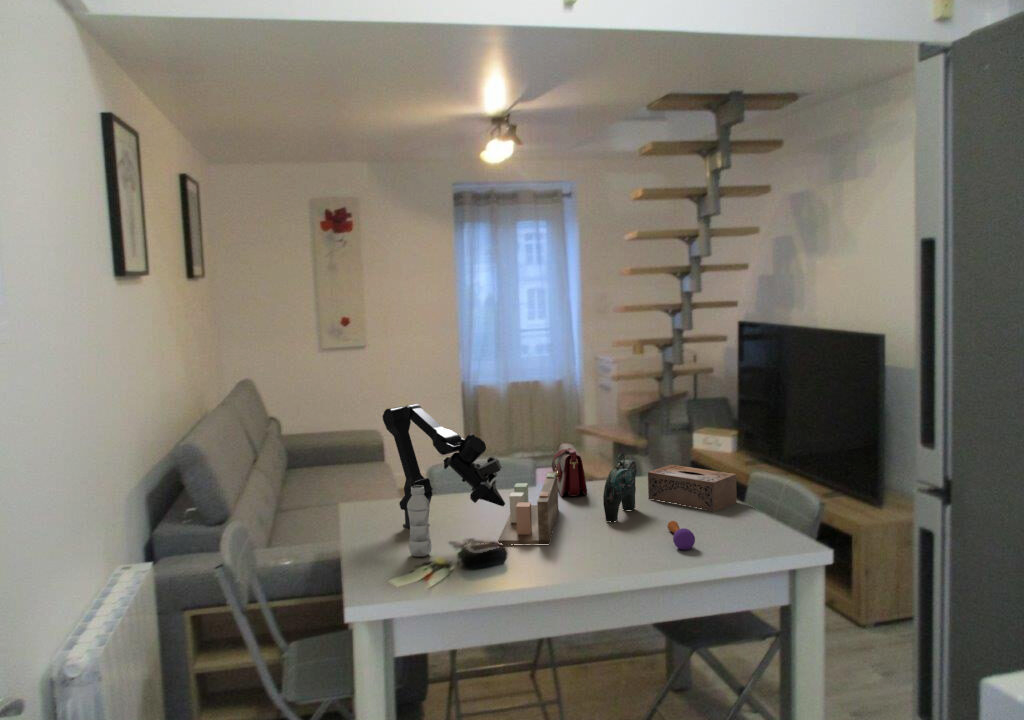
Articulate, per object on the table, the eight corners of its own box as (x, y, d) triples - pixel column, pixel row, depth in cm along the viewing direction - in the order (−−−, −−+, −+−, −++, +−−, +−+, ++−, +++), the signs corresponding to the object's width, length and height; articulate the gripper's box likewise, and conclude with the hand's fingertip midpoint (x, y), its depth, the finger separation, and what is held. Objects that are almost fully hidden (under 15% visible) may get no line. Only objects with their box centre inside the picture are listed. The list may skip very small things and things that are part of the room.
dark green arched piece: (624, 506, 270) (623, 448, 269) (642, 508, 267) (641, 449, 265) (600, 522, 253) (598, 460, 252) (619, 524, 250) (617, 461, 248)
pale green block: (515, 512, 262) (514, 486, 262) (516, 508, 267) (515, 483, 266) (527, 512, 262) (526, 486, 261) (528, 508, 266) (527, 483, 266)
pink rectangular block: (517, 534, 238) (516, 506, 237) (519, 529, 243) (517, 502, 242) (530, 534, 238) (529, 506, 237) (532, 529, 242) (530, 502, 241)
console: (498, 545, 234) (496, 500, 233) (514, 509, 272) (512, 470, 271) (549, 545, 232) (547, 500, 231) (558, 509, 270) (557, 470, 269)
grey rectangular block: (510, 522, 250) (509, 496, 250) (512, 518, 255) (511, 492, 254) (523, 522, 250) (522, 496, 249) (524, 518, 254) (523, 492, 254)
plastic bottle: (420, 550, 233) (417, 483, 231) (437, 554, 228) (433, 485, 227) (404, 556, 228) (400, 487, 226) (420, 561, 223) (417, 490, 222)
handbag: (551, 481, 310) (549, 437, 309) (578, 480, 311) (576, 436, 309) (558, 500, 282) (557, 451, 281) (588, 498, 283) (587, 450, 281)
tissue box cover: (648, 500, 278) (647, 472, 277) (671, 491, 288) (671, 464, 287) (714, 512, 260) (713, 482, 259) (736, 503, 270) (736, 474, 269)
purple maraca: (684, 518, 242) (698, 532, 222) (681, 537, 242) (695, 554, 222) (664, 514, 242) (677, 529, 222) (661, 534, 242) (673, 550, 222)
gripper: (479, 457, 230) (519, 494, 230) (489, 444, 249) (525, 479, 248) (454, 484, 232) (492, 521, 232) (465, 469, 250) (501, 503, 250)
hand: (504, 505), depth 240 cm, fingers closed
